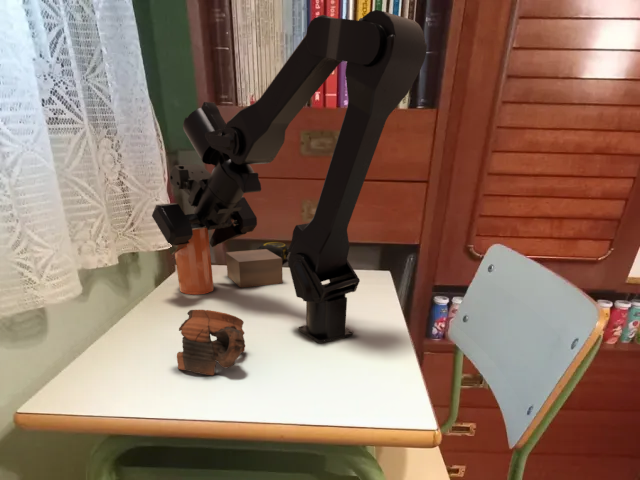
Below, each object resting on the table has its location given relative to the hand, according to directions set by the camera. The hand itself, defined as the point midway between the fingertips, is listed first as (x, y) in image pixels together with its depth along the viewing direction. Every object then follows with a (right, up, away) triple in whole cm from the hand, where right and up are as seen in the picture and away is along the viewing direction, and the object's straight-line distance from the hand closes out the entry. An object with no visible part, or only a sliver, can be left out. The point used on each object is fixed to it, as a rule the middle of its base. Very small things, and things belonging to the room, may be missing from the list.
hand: (191, 248), depth 90 cm
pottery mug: (+10, -25, -25) cm, 36 cm away
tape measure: (+13, +6, +25) cm, 28 cm away
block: (+10, -3, +11) cm, 15 cm away
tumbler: (0, -7, +4) cm, 8 cm away
